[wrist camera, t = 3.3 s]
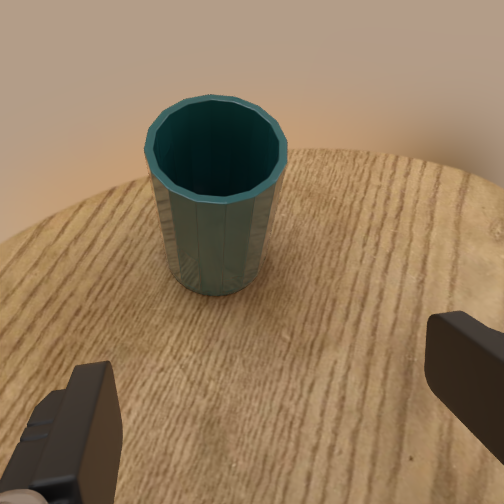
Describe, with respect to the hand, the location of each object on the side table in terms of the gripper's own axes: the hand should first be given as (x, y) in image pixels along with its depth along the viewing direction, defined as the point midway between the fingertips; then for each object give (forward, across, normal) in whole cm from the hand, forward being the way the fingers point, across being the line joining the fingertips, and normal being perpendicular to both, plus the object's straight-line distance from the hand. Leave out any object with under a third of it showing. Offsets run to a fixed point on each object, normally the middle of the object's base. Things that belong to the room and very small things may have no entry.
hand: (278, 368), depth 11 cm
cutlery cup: (+18, 0, +2) cm, 18 cm away
